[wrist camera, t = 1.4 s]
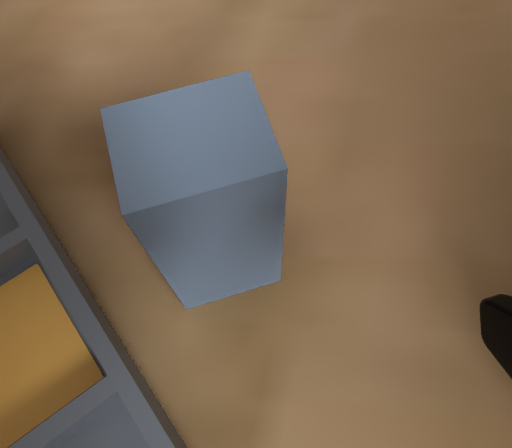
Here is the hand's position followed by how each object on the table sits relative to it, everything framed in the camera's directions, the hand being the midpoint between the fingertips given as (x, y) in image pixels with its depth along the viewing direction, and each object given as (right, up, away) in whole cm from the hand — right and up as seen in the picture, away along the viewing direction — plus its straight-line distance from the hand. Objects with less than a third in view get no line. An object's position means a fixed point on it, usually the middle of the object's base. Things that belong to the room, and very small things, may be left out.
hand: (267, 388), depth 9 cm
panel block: (-2, +1, +15) cm, 16 cm away
